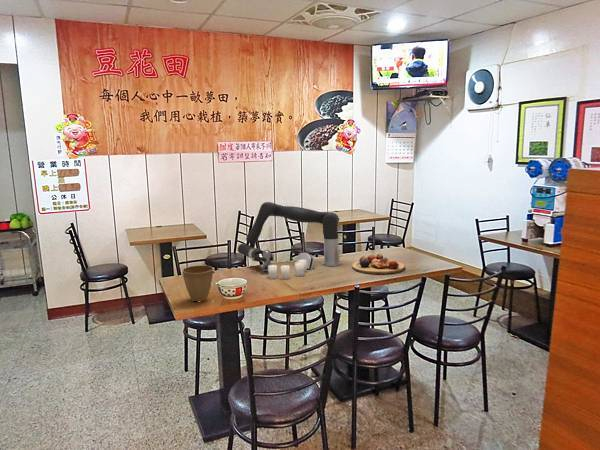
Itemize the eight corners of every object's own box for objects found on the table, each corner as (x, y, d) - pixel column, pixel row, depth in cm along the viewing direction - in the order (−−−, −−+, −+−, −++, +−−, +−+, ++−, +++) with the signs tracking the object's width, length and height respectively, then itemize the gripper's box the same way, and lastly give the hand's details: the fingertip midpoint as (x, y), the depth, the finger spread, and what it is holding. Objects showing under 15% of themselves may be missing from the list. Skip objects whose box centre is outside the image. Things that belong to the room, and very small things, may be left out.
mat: (273, 270, 270) (273, 269, 270) (274, 273, 262) (274, 273, 262) (260, 271, 268) (260, 270, 268) (261, 274, 261) (261, 274, 260)
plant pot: (183, 306, 208) (181, 274, 206) (185, 296, 223) (183, 266, 220) (215, 303, 211) (213, 271, 209) (215, 294, 226) (213, 264, 223)
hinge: (293, 264, 282) (297, 250, 282) (299, 266, 284) (304, 251, 284) (305, 270, 267) (309, 254, 267) (311, 272, 269) (316, 256, 269)
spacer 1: (276, 276, 257) (276, 264, 255) (277, 278, 252) (277, 266, 251) (268, 276, 256) (267, 265, 255) (269, 279, 251) (268, 267, 250)
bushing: (271, 268, 268) (270, 249, 266) (272, 271, 263) (271, 251, 261) (262, 269, 267) (261, 250, 265) (263, 271, 262) (262, 252, 260)
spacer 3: (303, 273, 260) (302, 262, 259) (304, 275, 255) (304, 264, 254) (294, 274, 259) (294, 262, 258) (296, 276, 254) (295, 264, 253)
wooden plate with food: (415, 271, 259) (415, 258, 258) (367, 277, 248) (367, 263, 247) (387, 261, 289) (387, 248, 288) (343, 265, 278) (343, 253, 277)
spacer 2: (289, 276, 255) (288, 264, 254) (290, 278, 250) (290, 267, 249) (280, 277, 254) (280, 265, 253) (281, 279, 249) (281, 267, 248)
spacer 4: (305, 270, 267) (305, 259, 266) (307, 272, 263) (307, 261, 261) (297, 270, 267) (297, 259, 266) (299, 273, 262) (298, 261, 261)
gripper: (245, 250, 271) (258, 255, 257) (266, 247, 279) (279, 252, 264) (246, 262, 273) (258, 267, 258) (266, 258, 280) (279, 264, 266)
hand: (269, 259), depth 261 cm, fingers closed on bushing, 4 cm apart
